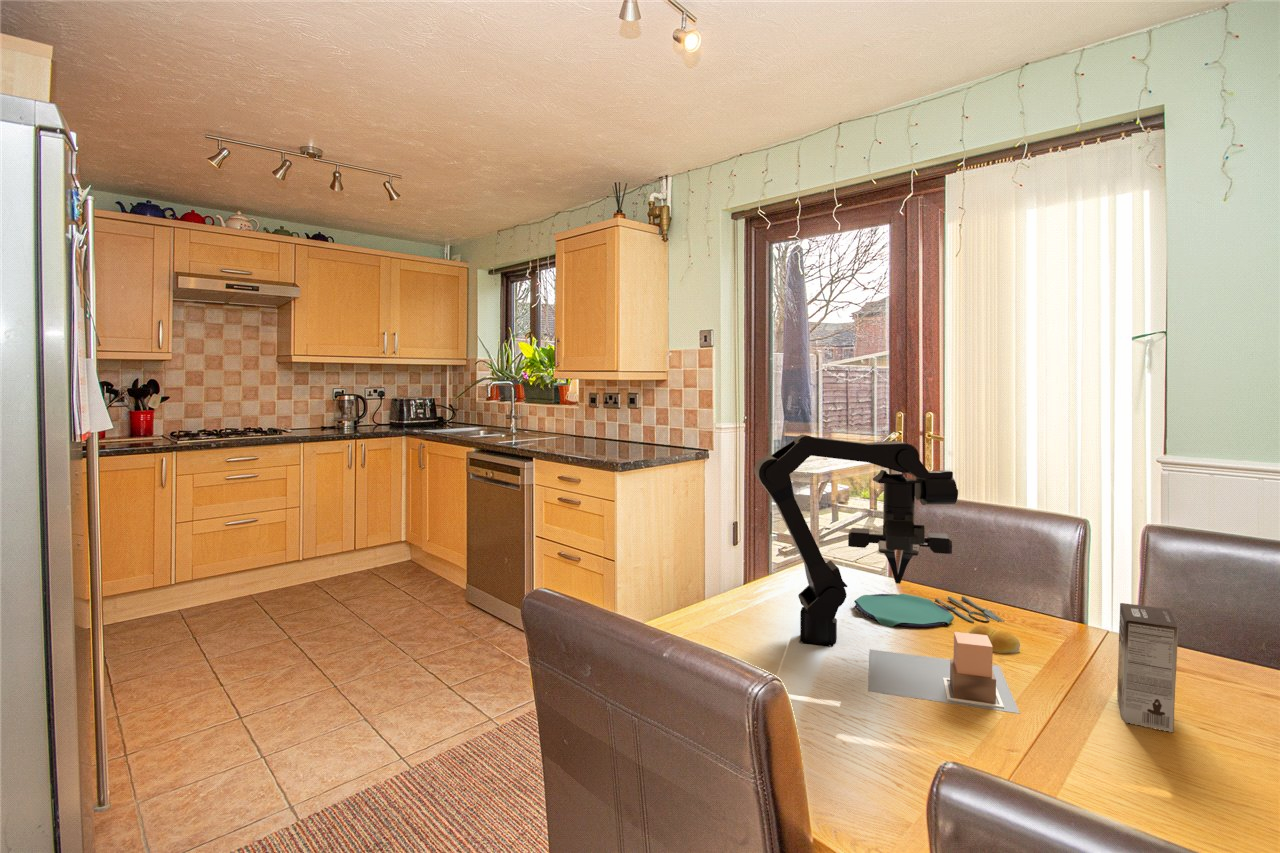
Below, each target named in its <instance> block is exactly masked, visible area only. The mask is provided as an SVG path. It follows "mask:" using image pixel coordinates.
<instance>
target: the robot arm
mask: <svg viewBox="0 0 1280 853" xmlns="http://www.w3.org/2000/svg"><path fill="white" fill-rule="evenodd" d="M811 457H818V458H819V457H820V458H829V459H838V460H845V461H855V462H862V463H863V462H864V463H869V464H873V465H874V466H875V465H876V466H878V467H882V468H884V469H885V468H886V469H888V470H891V471H896V472H898V473H888V472H887V471H886V470H883V469H881V470H880V472H878V474H876V475H875V476H873V477H872V481H873V482H876V483H877V484H883V503H882V504H883V505H882V506H883V507H882V508H883V509H882V510H883V512H882V513H883V514H882V515H883V516H882V517H883V518H882V519H883V520H882V523H883V524H882V534H881V533H871V532H870V528H861V527H852V528H850V529H849V530H848V538H847V540H848V542H847V543H848V547H850V548H861V549H865V548H866V547H867V546H869V545H870V544H877V546H878V553H880V554H884V556H885V557H886V560H887V561H888V564H889V566H890V570H891V572H892V576H893V579H894V582H895V584H899V585H900V584H901V583H902V580H903V577H904V574H905V572H906V569H907V567H908V564H909V563H910V561H911V560H912V558H913V557H914V556H919V554H920V551H919V549H920V547H924V548H929V550H931V552H933V554H944V555H945V554H946V555H947V554H948V555H951V554H953V540H952V539H951V537H950V535H948V533H942V532H927V536H925V533H926V532H925V529H926V528H925V525H923V524H915V513H916V512H915V510H916V509H915V508H916V506H915V501H919V503H920V504H921V505H922V506H955V505H956V503H957V502H958V498H959V489H958V487H957V482H956V480H955V478H954V472H953V471H952V470H948V469H945V470H943V469H942V470H937V471H936V470H935V471H933V470H932V471H931V470H930V471H929V470H928V469H927V468H926V467H925V465H924V464H923V462H922V461H921V460H920V454H919V450H918V449H917V447H915V445H912V444H910V443H906V442H903V441H898V440H886V441H873V442H860V441H851V440H845V439H844V440H842V439H836V438H834V439H833V438H828V437H827V438H825V437H819V436H818V437H816V436H811V435H808V434H800V435H797V436H796V437H795V438H794V439H793V440H792V441H791V442H789V443H787V444H786V445H784V446H783V447H781V448H780V449H778V450H776V451H775V452H773V453H772V454H771V455H765V456H762V457H761V458H759V459H758V460H757V461H756V463H755V465H754V467H753V468H754V470H753V471H754V475H755V477H756V479H757V480H758V481H759V483H760V484H761V485H762V487H763V488H764V489H765V491H766V492H767V493H768V495H769V496H770V498H771V499H772V500H773V502H774V504H775V505H776V507H777V509H778V512H779V513H780V515H781V518H782V519H783V520H782V521H783V522H784V524H785V527H786V528H787V531H788V532H789V534H790V536H791V538H792V541H793V543H794V546H795V547H796V549H797V551H798V553H799V556H800V558H801V560H802V562H803V565H804V570H805V577H806V580H807V584H808V585H807V586H806V587H805V588H804V589H803V590H802V591H801V592H799V594H798V595H797V596H798V600H799V601H800V604H801V605H802V606H801V610H800V615H799V616H800V617H799V618H800V621H799V622H800V623H799V624H800V625H799V626H800V627H799V629H800V631H799V632H800V635H799V636H800V638H799V640H798V643H799V644H802V645H803V644H804V645H809V646H810V645H811V646H812V645H813V646H818V647H819V646H820V647H826V648H833V647H834V644H836V643H837V639H838V638H837V637H838V619H837V618H835V617H836V615H837V613H838V610H839V608H840V607H841V606H842V605H843V604H844V603H845V601H846V599H847V591H846V588H848V585H847V584H846V582H844V580H843V578H842V574H841V571H840V569H839V567H838V566H837V565H836V564H835V563H834V562H833V561H832V560H831V559H830V560H828V561H825V559H824V557H823V555H822V553H821V550H820V549H819V547H818V545H817V542H816V540H815V539H814V538H815V537H813V534H812V532H811V530H810V527H809V525H808V524H807V521H806V519H805V517H804V514H803V513H802V510H801V508H800V507H799V505H798V503H797V499H796V497H795V494H794V493H795V492H794V488H793V483H792V479H791V476H790V475H791V474H792V473H793V472H794V471H796V470H797V469H798V468H799V467H800V466H801V465H802V464H803V463H804V462H806V460H807V459H809V458H811ZM902 473H903V474H902ZM904 474H906V475H909V476H912V477H915V478H907V477H905V475H904ZM896 551H900V558H899V563H898V566H897V558H896Z"/></svg>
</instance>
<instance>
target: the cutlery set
mask: <svg viewBox="0 0 1280 853" xmlns="http://www.w3.org/2000/svg"><path fill="white" fill-rule="evenodd" d="M934 599H935V600H934V601H935V602H933V601H932V600H931V599H930V598H926V597H922V596H918V595H912V594H907V593H899V594H896V593H895V594H894V593H877V594H863V595H861V596H859V597H858V598H856V599H855V600H853V601H854V603H855V608H857V609H858V611H859V612H860V613H862V614H864V615H865V616H867V617H869V618H870V619H871V618H872V619H874V620H876V621H877V622H878V623H879V625H882V626H887V627H890V628H893V627H894V626H896V625H897V626H904V627H912V628H914V627H915V628H929V627H931V628H932V627H938V626H941V625H945V626H949V625H950V624H951V622H953V620H954V619H955V615H956V616H959V617H960V618H962V619H963V620H965V621H966V622H969V623H972V624H974V623H975V621H974V620H976V621H980V622H985V620H986V622H989V621H990V618H991V619H992V620H994V621H996V622H998V623H999V622H1004V623H1005V620H1003V619H1002V618H1000V617H999V616H998V615H997V614H995V613H994V612H993V611H992V610H988V608H983V607H981V606H979V605H977V604H976V603H974V602H973V601H972V600H971V599H969V598H967V597H966V596H961V600H962V601H963V602H965V603H967V604H968V605H970V607H973V608H975V609H977V610H979V611H981V612H982V613H981V612H977V611H971V610H970V609H969V608H968V607H966V606H965V605H964V604H962V602H960V601H958V600H957V599H955V598H953V597H952V596H947V600H948V601H950V602H952V603H954V604H956V605H958V606H959V607H961V608H962V609H963V610H966V611H967V612H968V615H969V616H970V617H971V618H972V619H971V618H970V617H967V616H966V615H965V614H964V613H962V612H960V611H958V610H957V608H956V607H955V606H953V605H949V604H947V603H945V602H943V601H942V600H940V599H939V597H936V598H934ZM937 602H938V603H941V604H942V605H944V606H945V607H944V606H942V605H940V604H938V603H937ZM949 610H950V611H949ZM951 612H953V613H954V614H955V615H953V613H951ZM973 615H976V616H980V617H983V618H985V620H983V619H979V618H978V617H975V616H973ZM973 619H974V620H973Z"/></svg>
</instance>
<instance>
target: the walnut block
mask: <svg viewBox="0 0 1280 853" xmlns="http://www.w3.org/2000/svg"><path fill="white" fill-rule="evenodd" d="M949 659H950V658H949ZM953 659H954V658H953ZM953 659H950V684H951V689H952V693H953V697H954V698H956V699H963V700H970V701H977V702H984V703H991V704H996V678H995V675H994V673H993V670H992V677H984V676H976V675H968V674H960V673H957V671H956V667H955V664H954V661H953Z"/></svg>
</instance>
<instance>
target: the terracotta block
mask: <svg viewBox="0 0 1280 853" xmlns="http://www.w3.org/2000/svg"><path fill="white" fill-rule="evenodd" d="M993 653H994V652H993V646H992V644H991V642H990V640H989V638H988V636H987V635H980V634H970V633H968V632H959V631H953V661H954V664H955V667H956V671H957V673H960V674H968V675H976V676H984V677H992V665H993Z"/></svg>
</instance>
